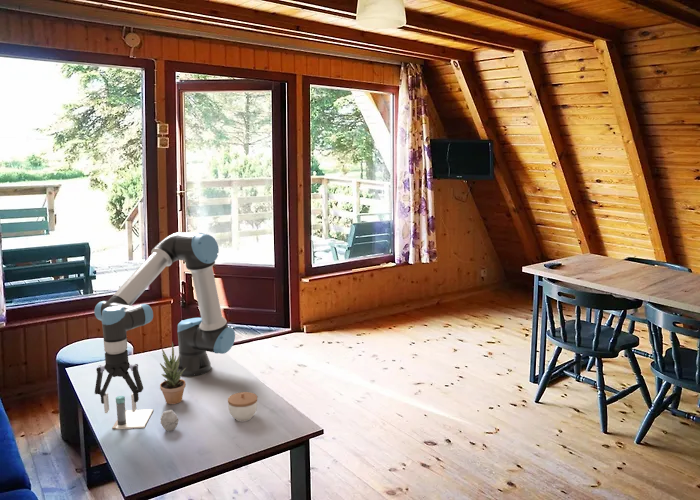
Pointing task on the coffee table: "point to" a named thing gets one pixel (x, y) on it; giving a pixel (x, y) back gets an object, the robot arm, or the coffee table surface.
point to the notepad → (135, 419)
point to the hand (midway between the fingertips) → (120, 410)
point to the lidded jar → (242, 405)
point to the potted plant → (172, 380)
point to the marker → (121, 410)
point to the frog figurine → (169, 420)
